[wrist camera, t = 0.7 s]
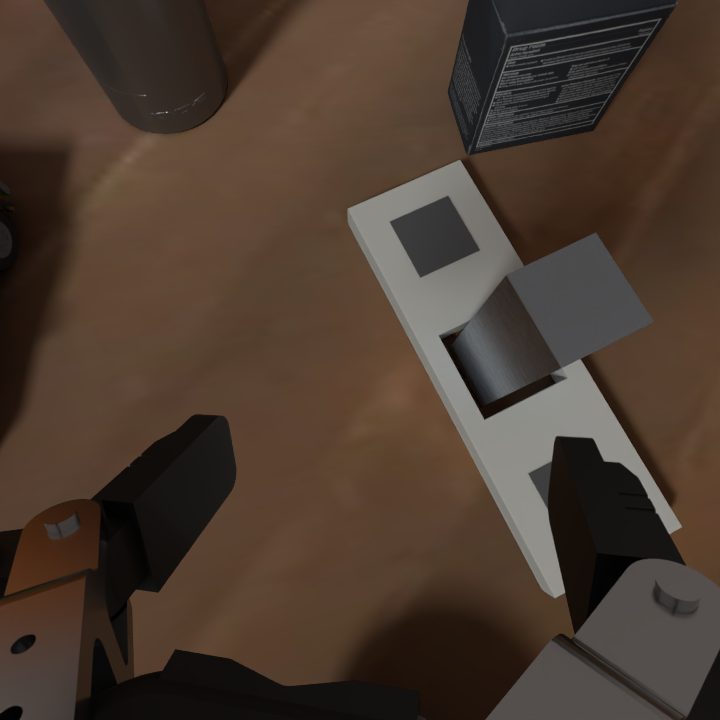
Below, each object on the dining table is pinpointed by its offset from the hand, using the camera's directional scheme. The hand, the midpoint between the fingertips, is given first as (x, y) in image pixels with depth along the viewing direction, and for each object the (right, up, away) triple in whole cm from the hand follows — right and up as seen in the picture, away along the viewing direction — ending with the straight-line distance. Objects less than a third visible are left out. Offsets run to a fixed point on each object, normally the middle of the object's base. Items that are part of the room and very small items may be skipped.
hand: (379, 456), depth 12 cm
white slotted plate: (+9, +2, +21) cm, 23 cm away
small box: (+12, +22, +26) cm, 36 cm away
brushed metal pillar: (+9, +2, +21) cm, 23 cm away
